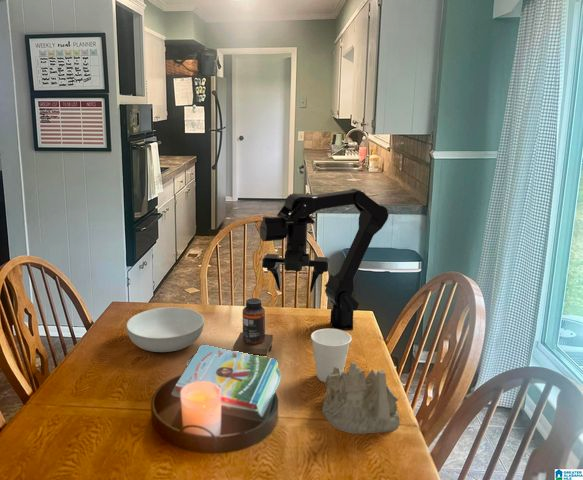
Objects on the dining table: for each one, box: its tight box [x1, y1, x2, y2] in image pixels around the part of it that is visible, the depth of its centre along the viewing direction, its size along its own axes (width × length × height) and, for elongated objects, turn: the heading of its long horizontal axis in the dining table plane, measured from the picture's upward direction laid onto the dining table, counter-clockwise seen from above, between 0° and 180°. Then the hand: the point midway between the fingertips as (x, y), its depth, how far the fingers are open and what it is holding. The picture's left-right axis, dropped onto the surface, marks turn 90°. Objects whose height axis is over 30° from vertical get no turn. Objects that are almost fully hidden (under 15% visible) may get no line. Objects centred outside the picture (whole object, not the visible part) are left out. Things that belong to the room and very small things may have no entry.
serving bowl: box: [125, 306, 205, 353], centre depth 144 cm, size 21×21×7 cm
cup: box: [310, 328, 353, 383], centre depth 128 cm, size 10×10×11 cm
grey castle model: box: [321, 361, 401, 435], centre depth 113 cm, size 16×16×15 cm
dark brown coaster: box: [232, 331, 274, 357], centre depth 140 cm, size 9×9×4 cm
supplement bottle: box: [242, 297, 266, 344], centre depth 138 cm, size 6×6×11 cm
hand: (295, 290), depth 151 cm, fingers open, 9 cm apart
